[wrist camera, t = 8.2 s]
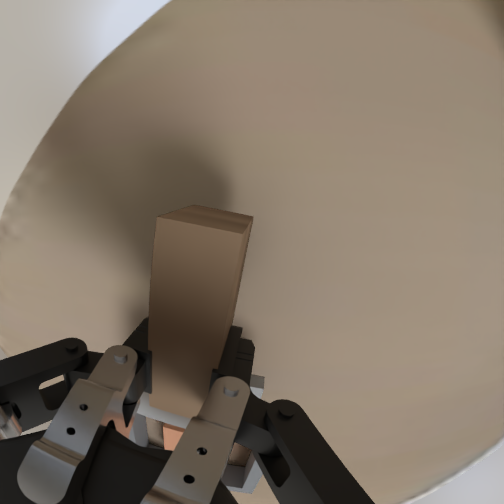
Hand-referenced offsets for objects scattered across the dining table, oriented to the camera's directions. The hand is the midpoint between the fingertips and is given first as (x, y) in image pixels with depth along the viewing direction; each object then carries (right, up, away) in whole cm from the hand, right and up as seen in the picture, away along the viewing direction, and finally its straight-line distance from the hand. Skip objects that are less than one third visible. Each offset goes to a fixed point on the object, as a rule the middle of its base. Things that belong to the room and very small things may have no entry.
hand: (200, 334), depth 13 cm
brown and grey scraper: (0, -1, +1) cm, 1 cm away
